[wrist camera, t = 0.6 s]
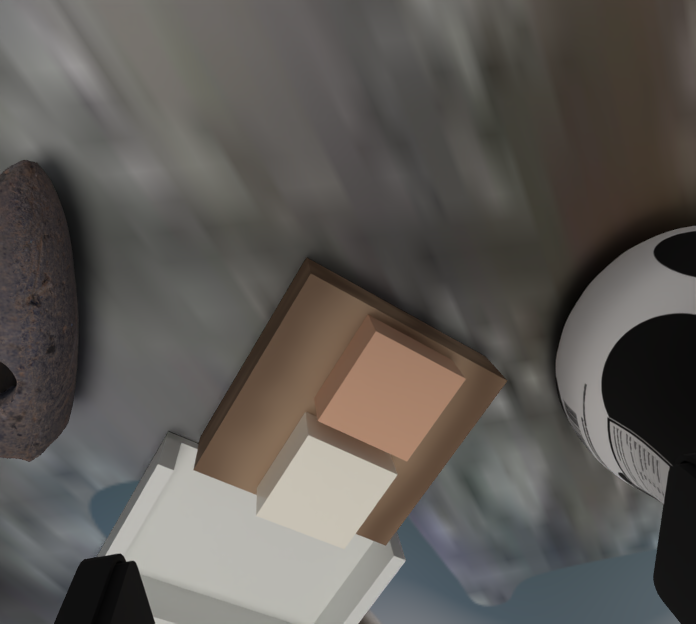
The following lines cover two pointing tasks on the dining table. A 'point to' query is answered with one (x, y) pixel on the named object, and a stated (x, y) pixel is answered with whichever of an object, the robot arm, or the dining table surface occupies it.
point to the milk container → (635, 361)
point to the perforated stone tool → (35, 314)
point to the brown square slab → (308, 377)
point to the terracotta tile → (387, 389)
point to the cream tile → (324, 483)
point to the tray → (238, 554)
